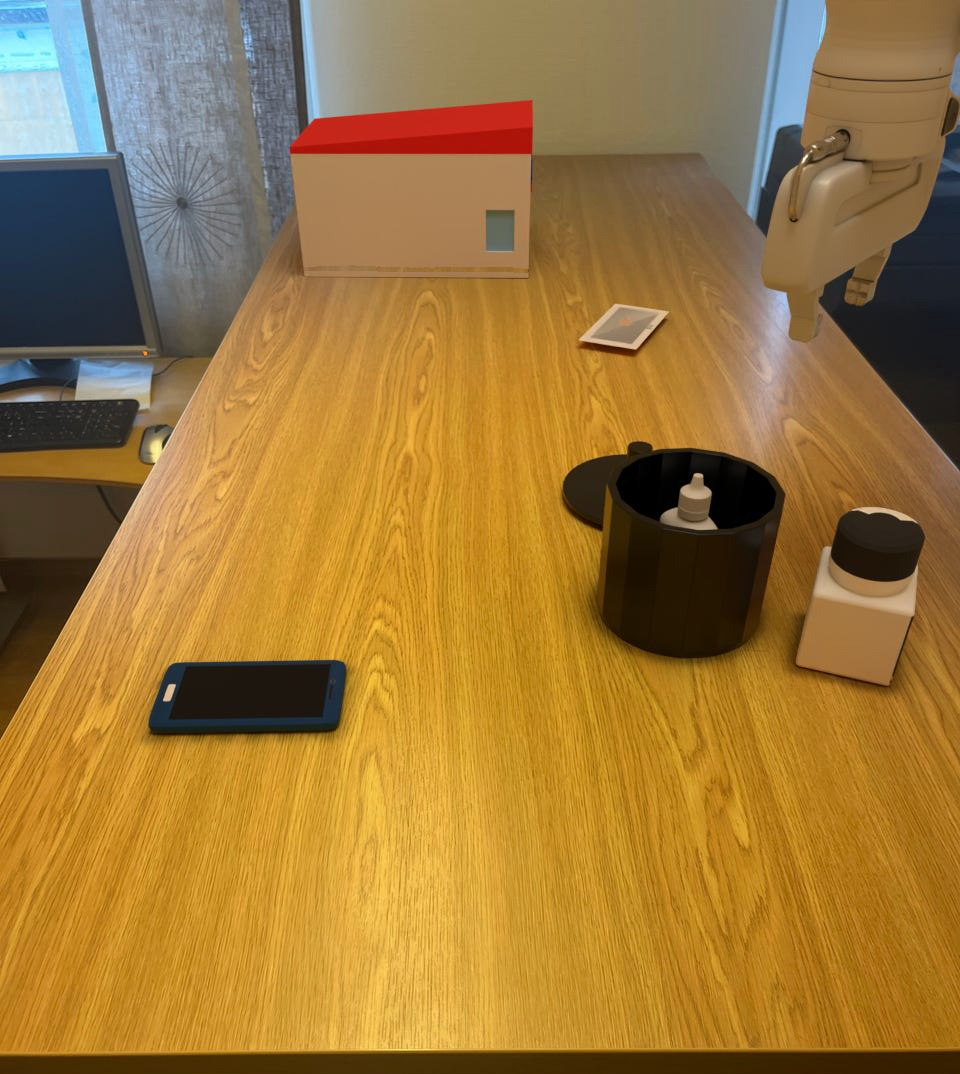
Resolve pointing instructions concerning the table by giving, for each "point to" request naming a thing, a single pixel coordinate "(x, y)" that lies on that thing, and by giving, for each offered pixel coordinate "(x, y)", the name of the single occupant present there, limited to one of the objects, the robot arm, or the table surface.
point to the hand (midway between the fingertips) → (831, 319)
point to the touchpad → (624, 326)
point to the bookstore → (416, 190)
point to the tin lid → (595, 482)
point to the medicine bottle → (863, 596)
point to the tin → (687, 552)
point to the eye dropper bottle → (691, 507)
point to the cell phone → (249, 696)
